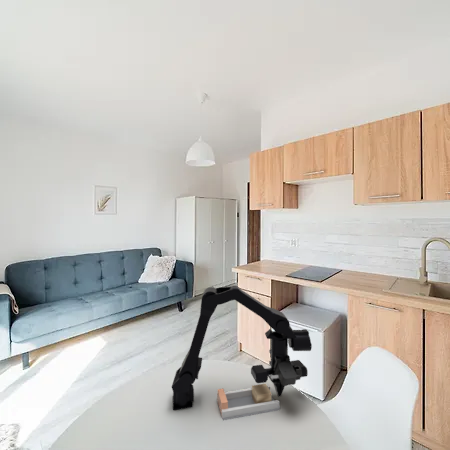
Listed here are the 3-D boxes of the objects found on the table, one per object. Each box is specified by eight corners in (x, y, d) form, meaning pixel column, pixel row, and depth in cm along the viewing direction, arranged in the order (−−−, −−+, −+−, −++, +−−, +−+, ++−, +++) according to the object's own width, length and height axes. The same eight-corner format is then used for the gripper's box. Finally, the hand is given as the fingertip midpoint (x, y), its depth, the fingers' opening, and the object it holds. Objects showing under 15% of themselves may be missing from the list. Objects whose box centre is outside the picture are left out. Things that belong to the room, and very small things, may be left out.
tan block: (257, 407, 78) (257, 395, 78) (252, 397, 83) (252, 385, 83) (271, 405, 79) (271, 393, 80) (265, 395, 84) (265, 383, 84)
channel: (222, 423, 73) (222, 407, 73) (216, 400, 83) (216, 386, 83) (280, 413, 77) (280, 397, 78) (268, 392, 87) (268, 378, 87)
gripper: (262, 366, 73) (262, 418, 73) (317, 359, 77) (317, 408, 77) (250, 348, 84) (250, 393, 84) (299, 343, 88) (298, 386, 88)
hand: (279, 395), depth 83 cm, fingers closed
